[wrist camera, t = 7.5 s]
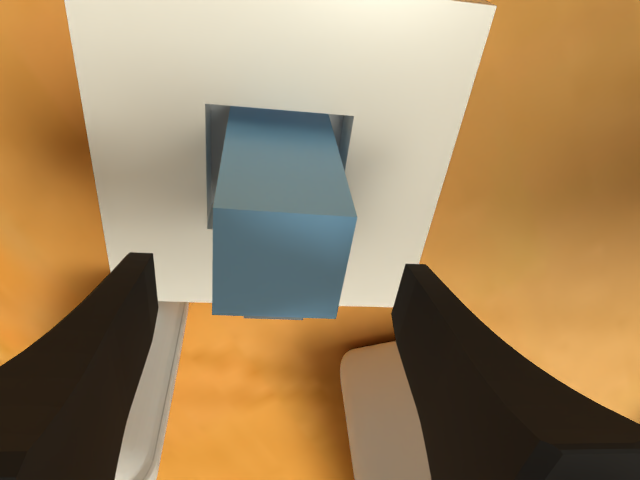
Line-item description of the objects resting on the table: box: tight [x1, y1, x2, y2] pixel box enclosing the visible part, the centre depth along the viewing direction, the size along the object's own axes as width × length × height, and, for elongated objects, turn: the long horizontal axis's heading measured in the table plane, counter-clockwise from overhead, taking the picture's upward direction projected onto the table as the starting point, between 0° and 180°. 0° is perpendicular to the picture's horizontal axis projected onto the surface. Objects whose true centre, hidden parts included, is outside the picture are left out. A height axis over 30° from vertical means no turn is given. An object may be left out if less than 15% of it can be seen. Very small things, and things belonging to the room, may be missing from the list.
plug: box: [212, 106, 357, 320], centre depth 18 cm, size 4×5×8 cm
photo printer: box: [115, 301, 189, 480], centre depth 22 cm, size 10×4×12 cm, turn 155°
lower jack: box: [64, 0, 497, 307], centre depth 20 cm, size 14×14×2 cm
